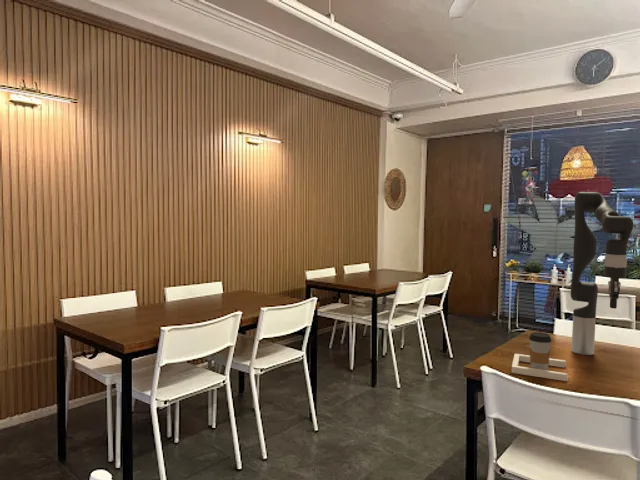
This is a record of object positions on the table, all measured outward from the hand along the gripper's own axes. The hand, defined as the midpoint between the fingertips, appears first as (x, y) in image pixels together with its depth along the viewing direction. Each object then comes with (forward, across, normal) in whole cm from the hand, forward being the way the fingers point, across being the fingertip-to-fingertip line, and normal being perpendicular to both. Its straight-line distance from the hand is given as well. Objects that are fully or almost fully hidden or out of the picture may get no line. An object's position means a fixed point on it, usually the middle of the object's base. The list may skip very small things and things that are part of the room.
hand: (613, 308), depth 187 cm
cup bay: (+27, +9, -27) cm, 39 cm away
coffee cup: (+27, +10, -26) cm, 39 cm away
